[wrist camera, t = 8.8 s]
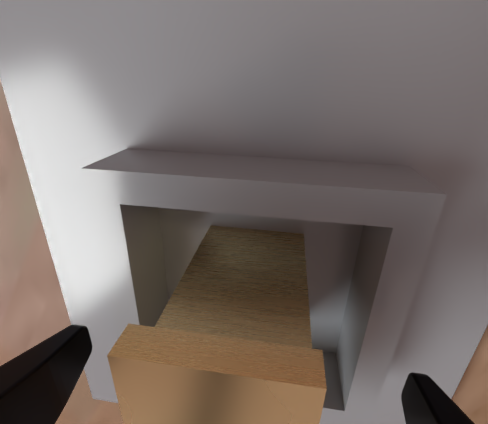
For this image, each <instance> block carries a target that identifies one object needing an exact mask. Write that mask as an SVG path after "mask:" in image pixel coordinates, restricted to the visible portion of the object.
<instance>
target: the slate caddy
mask: <svg viewBox="0 0 488 424" xmlns="http://www.w3.org/2000/svg"><path fill="white" fill-rule="evenodd" d="M0 79H1V83H2V86H3V90H4V93H5V97H6V100H7V103H8V107H9V110H10V114H11V117H12V121H13V124H14V128H15V131H16V135H17V138H18V141H19V145H20V148H21V152H22V155H23V159H24V162H25V166H26V169H27V173H28V176H29V180H30V183H31V186H32V190H33V193H34V197H35V200H36V204H37V207H38V211H39V214H40V218H41V221H42V224H43V228H44V231H45V235H46V238H47V242H48V245H49V249H50V252H51V256H52V259H53V262H54V266H55V269H56V273H57V276H58V280H59V283H60V287H61V290H62V294H63V297H64V300H65V304H66V307H67V311H68V314H69V318H70V321H71V325H73V324H77V325H84V326H86V327H87V328H88V330H89V334H90V337H91V341H92V352H91V355H90V357H89V359H88V361H87V363H86V365H85V367H84V370H85V373H86V376H87V380H88V383H89V387H90V390H91V394H92V397H93V399H98V400H104V401H109V402H115V403H118V399H117V395H116V391H115V387H114V383H113V378H112V374H111V370H110V366H109V362H108V357H107V355H108V353H109V352H110V350H111V349H112V347H113V346H114V344H115V343H116V341H117V340H118V338H119V337H120V335H121V334H122V332H123V331H124V329H125V328H126V326H127V325H128V323H129V324H136V325H143V326H151V327H155V325H156V323H157V321H158V320H159V318H160V316H161V314H162V312H163V311H164V309H165V307H166V305H167V303H168V301H169V300H170V298H171V296H172V294H173V292H174V291H175V289H176V287H177V285H178V283H179V282H180V280H181V278H182V276H183V274H184V272H185V271H186V269H187V267H188V265H189V263H190V262H191V260H192V258H193V256H194V254H195V253H196V251H197V249H198V247H199V245H200V244H201V242H202V240H203V238H204V236H205V234H206V233H207V231H208V229H209V227H210V225H212V226H223V227H234V228H245V229H256V230H267V231H278V232H289V233H300V234H304V244H305V257H306V271H307V285H308V298H309V312H310V326H311V339H312V349H318V350H322V351H323V360H324V369H325V378H326V387H327V390H326V395H325V400H324V404H323V409H322V414H321V419H320V423H319V424H406V422H405V417H404V412H403V407H402V401H401V394H402V390H403V387H404V385H405V382H406V379H407V377H408V375H409V373H411V372H414V373H421V374H426V375H428V376H429V377H430V378H432V380H433V381H434V382H435V383H436V384H437V385H438V386H439V387H440V388H441V389H442V390H443V391H444V392H445V393H446V394H447V395H448V396H449V397H450V398H451V399H452V397H453V395H454V393H455V391H456V389H457V387H458V384H459V382H460V380H461V378H462V376H463V374H464V372H465V370H466V368H467V366H468V364H469V362H470V360H471V358H472V356H473V354H474V352H475V350H476V348H477V346H478V344H479V342H480V340H481V338H482V335H483V333H484V331H485V329H486V327H487V325H488V0H0Z"/></svg>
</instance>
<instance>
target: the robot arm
mask: <svg viewBox="0 0 488 424" xmlns="http://www.w3.org/2000/svg"><path fill="white" fill-rule="evenodd" d="M91 352H92V341H91V337H90V334H89V330H88V328H87V327H86V326H84V325H77V324H73V325H70V326H68V327H67V328H65V329H63V330H62V331H60V332H58V333H56V334H55V335H53V336H51V337H50V338H48V339H46V340H44V341H43V342H41V343H39V344H38V345H36V346H34V347H33V348H31V349H29V350H27V351H26V352H24V353H22V354H21V355H19V356H17V357H15V358H14V359H12V360H10V361H9V362H7V363H5V364H3V365H2V366H0V424H55V422H56V421H57V419H58V417H59V416H60V414H61V412H62V410H63V409H64V407H65V405H66V403H67V401H68V399H69V397H70V395H71V393H72V391H73V389H74V387H75V385H76V383H77V381H78V379H79V377H80V375H81V373H82V371H83V369H84V367H85V365H86V363H87V361H88V359H89V357H90V355H91ZM401 401H402V407H403V412H404V417H405V422H406V424H474V423H473V422H472V421H471V420H470V419H469V417H468V416H467V415H466V414H465V413H464V412H463V411H462V410H461V409H460V408H459V407H458V406H457V405H456V404H455V403H454V402H453V401H452V400H451V398H450V397H449V396H448V395H447V394H446V393H445V392H444V391H443V390H442V389H441V388H440V387H439V386H438V385H437V384H436V383H435V382H434V381H433V380H432V378H430V377H429V376H428V375H426V374H421V373H414V372H411V373H409V375H408V377H407V379H406V382H405V385H404V387H403V390H402V394H401Z"/></svg>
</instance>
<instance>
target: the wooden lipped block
mask: <svg viewBox="0 0 488 424" xmlns="http://www.w3.org/2000/svg"><path fill="white" fill-rule="evenodd" d="M107 357H108V362H109V366H110V370H111V374H112V378H113V383H114V387H115V391H116V395H117V399H118V404H119V408H120V412H121V416H122V420H123V424H319V423H320V419H321V414H322V409H323V404H324V400H325V395H326V390H327V387H326V378H325V369H324V360H323V351H322V350H318V349H312V339H311V326H310V312H309V298H308V285H307V271H306V257H305V244H304V234H300V233H289V232H278V231H267V230H256V229H245V228H234V227H223V226H212V225H210V227H209V229H208V231H207V233H206V234H205V236H204V238H203V240H202V242H201V244H200V245H199V247H198V249H197V251H196V253H195V254H194V256H193V258H192V260H191V262H190V263H189V265H188V267H187V269H186V271H185V272H184V274H183V276H182V278H181V280H180V282H179V283H178V285H177V287H176V289H175V291H174V292H173V294H172V296H171V298H170V300H169V301H168V303H167V305H166V307H165V309H164V311H163V312H162V314H161V316H160V318H159V320H158V321H157V323H156V325H155V327H151V326H143V325H136V324H129V323H128V325H127V326H126V328H125V329H124V331H123V332H122V334H121V335H120V337H119V338H118V340H117V341H116V343H115V344H114V346H113V347H112V349H111V350H110V352H109V353H108V355H107Z"/></svg>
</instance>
